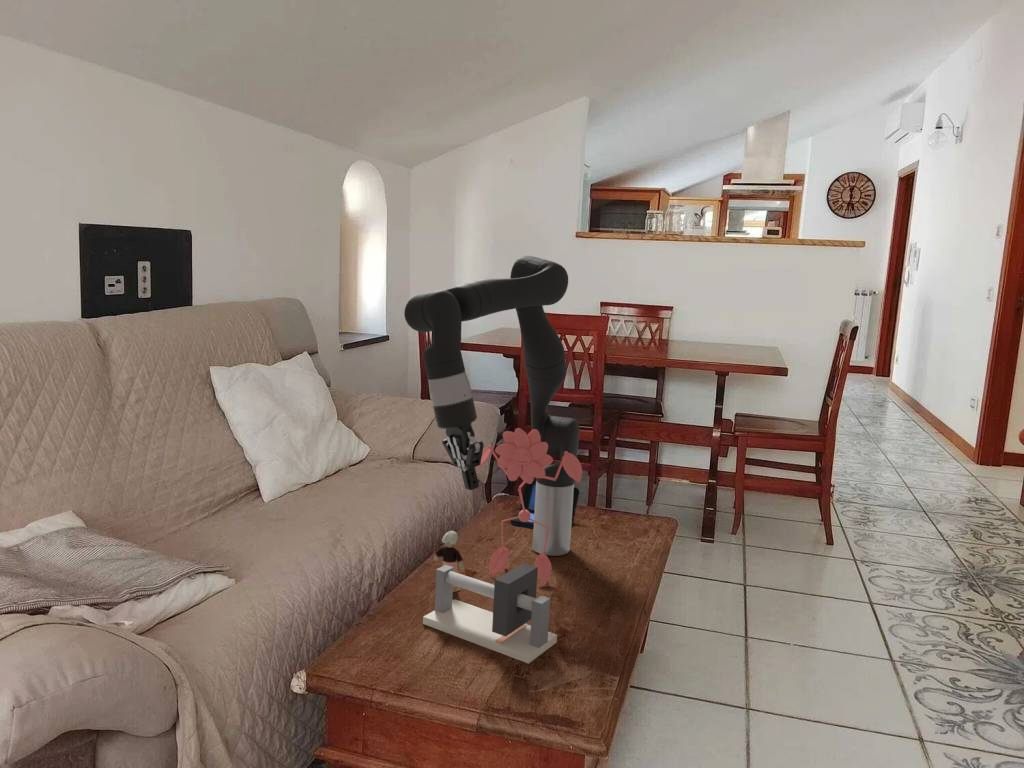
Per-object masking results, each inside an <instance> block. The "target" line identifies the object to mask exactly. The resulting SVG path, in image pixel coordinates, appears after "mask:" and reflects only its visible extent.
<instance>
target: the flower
mask: <svg viewBox="0 0 1024 768" xmlns="http://www.w3.org/2000/svg"><path fill="white" fill-rule="evenodd" d="M502 438H503V441H504V442H505V443H500V444H499V445H497V446H496V447H495V449H493V446H492V445H488V446H487V447H483V452H482V458H481V464H480V465H479V466H477V467H476V468H475V470H476V471H477V470H478V469H480V468H481V467H482V466H483V465H484V464H486V462H487V461H488V459H489V458H490V456H491V454H492V455H493V457H494V459H495V460H496V461H497V466H498V467H499V468H501V469H502V470H503V472H504V474H505V476H506V477H507V478H508V481H510V482H514V481H517V480H518V478H519V477H520V478H521V479H522V481H523V482H522V483H521V484H520V485H519V486H518V489H517V491H518V495H519V499H520V502H521V503H522V507H523V510H521V511H520V512H519V511H518V512H519V516H518V517H514V518H512V517H511V518H507V519H503V520H501V525H500V526H501V527H500V528H501V529H500V530H501V546H500V547H499V548H497V549H496V550H495V551H494V552H493V553H492V556H491V557H490V559H489V563H488V565H489V567H488V568H489V569H488V570H489V571H488V572H489V576H490V577H491V576H493V575H495V574H497V573H499V572H500V571H501V570H503V568H504V569H505V570H508V566H507V564H508V563H507V562H508V559H509V554H510V551H509V549H508V547H506V546H504V522H507V521H508V522H509V521H510V520H512V519H517V518H519V519H520V520H521V521H522V522H527V521H528V520H531V521H533V522H535V523H537V524H539V525H541V526H544V527H546V528H547V534H546V539H545V544H544V549H543V553H542V554H540V553H538V555H537V556H536V558H535V562H534V566H536V567H538V573H537V578H539V579H540V581H541V582H542V583H543V584H544V585H546V584H547V583H548V581H549V579H550V577H551V574H552V563H551V561H550V559H549V557H548V555H545V554H544V553H545V548H546V543H547V537H548V532H549V527H547V526H545V525H543V524H541V523H539V522H537V521H535V520H533V519H531V518H530V516H531V515H530V512H529V511H528V510H525V508H524V503H523V493H522V488H523V487H524V486H525V485H526V483H528V484H531V483H532V482H533V481H535V478H544V479H549V480H554V481H556V479H557V477H558V475H559V472H560V470H561V468H562V465H563V467H564V470H565V471H566V473H567V474H568V475H569V476H570V477H571V478H573V479H574V482H577V483H581V481H582V476H583V467H582V464H581V462H580V460H579V459H578V458H576V457H575V456H574V455H573V454H571V453H568V451H565V452H564V456H563V457H562V461H561V464H560V466H559V469H558V471H557V474H556V476H555V478H551V477H547V476H545V470H544V469H543V468H542V467H545V466H548V465H552V463H553V461H554V458H553V457H552V456H551V454H547V453H546V452H547V450H548V444H547V443H546V442H541V436H540V434H539V431H538V430H537V429H533V430H532V429H531V431H529V432H528V433H526V431H524V430H523V429H522V428H520V427H517V428H515V429H514V431H510V430H509V431H508V430H506V431H504V432H502ZM498 456H499V457H498ZM521 503H520V504H521ZM482 563H484V560H482V561H481V562H479V565H480V564H482ZM554 596H555V594H553V595H548V596H546V597H548V598H551V597H554Z"/></svg>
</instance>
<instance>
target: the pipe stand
mask: <svg viewBox="0 0 1024 768" xmlns="http://www.w3.org/2000/svg"><path fill="white" fill-rule="evenodd" d="M453 585H454V586H457V587H460V588H461V589H464V590H467V591H469V592H473V593H476V594H479V595H482V596H484V597H488V598H491V599H493V600H494V585H495V584H493V583H489V582H487V581H483V580H480V579H478V578H474V577H471V576H468V575H465V574H461V573H459V572H457V573H456V572H454V567H451V566H448V565H444V566H442V565H441V566H440V567H439V568H436V571H435V590H434V610H432V611H431V612H429V613H427V614H425V615H424V616H423V617H422V624H423V625H425V626H427V627H431V628H432V629H435V630H438V631H441V632H443V633H446V634H449V635H452V636H454V637H456V638H460V639H462V640H465V641H468V642H469V643H473V644H476V645H478V646H480V647H483V648H485V649H488V650H491V651H494V652H497V653H499V654H502V655H504V656H507V657H510V658H513V659H515V660H517V661H521V662H523V663H526V664H528V665H529V664H530V663H532V662H533V661H535V659H537V657H539V656H541V655H542V654H543V653H544V652H546V651H547V650H548V649H550V648H551V647H552V646H554V645H555V644H556V643H557V642H558V639H557V638H558V634H556V633H553V632H550V631H549V625H550V610H551V597H547V596H546V595H542V594H541V595H539V596H538V597H536V598H533V597H530V596H527V595H524V594H521V593H520V594H518V595H517V607H520V608H523V609H526V610H529V611H532V617H531V620H530V622H531V623H530V624H528V623H525V624H524V625H522V626H521V627H519V628H518V629H516V630H515V631H513V632H512V633H510V634H509V635H508V636H503V635H500V634H497V633H494V632H492V624H493V611H490V610H487V609H483V608H481V607H479V606H475V605H472V604H470V603H466V602H464V601H462V600H458V599H453V598H454V597H453V594H454V592H453Z"/></svg>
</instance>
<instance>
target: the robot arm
mask: <svg viewBox="0 0 1024 768" xmlns="http://www.w3.org/2000/svg"><path fill="white" fill-rule="evenodd" d="M568 286H569V275H568V272H567V270H566V268H565V267H564V266H563V265H562V264H560V263H557V262H555V261H553V260H548V259H544V258H541V257H536V256H533V255H522V256H520V257H518V258H517V259H516V260H515V262H514V263H513V265H512V267H511V271H510V277H509V278H483V279H482V278H481V279H477V280H473V281H469V282H465V283H461V284H458V285H455V286H453V287H449V288H446V289H439V290H433V291H430V292H425V293H419V294H417V295H415V296H413V297H411V298H410V299H409V300H408V302H407V303H406V304H405V307H404V312H403V313H404V319H405V322H406V324H407V325H408V326H409V327H410V329H412V330H414V331H417V332H419V333H428V332H432V333H433V335H432V344H431V345H429V346H427V347H426V348H425V349H424V350H423V352H422V358H423V364H424V369H425V371H426V377H427V381H428V391H429V396H430V399H431V404H432V408H433V412H434V417H435V423H436V425H437V427H438V428H439V429H443V430H444V429H445V435H446V438H445V439H443V440H442V441H441V442H442V445H443V447H444V450H445V451H446V452H447V454H448V456H449V459H450V460H451V462H452V464H453V465H454V467H458V470H459V471H461V475H462V479H463V483H464V488H465V489H466V490H468V491H473V490H475V489H478V488H479V486H480V485H479V479H478V475H477V470H475V468H476V467H477V466H479V465H480V464H481V458H482V452H483V449H484V448H485V447H484V446H485V445H484V442H483V441H482V440H479V441H478V440H477V439H476V436H475V433H476V432H475V431H474V429H473V426H472V424H473V422H475V421H477V418H478V415H477V410H476V405H475V402H474V398H473V392H472V388H471V385H470V381H469V378H468V375H467V372H466V369H465V368H466V367H465V363H464V359H463V354H462V351H461V350H462V349H461V346H462V345H461V344H462V322H468V321H472V320H476V319H478V318H481V317H482V318H483V317H486V316H489V315H492V314H496V313H499V312H505V311H510V310H514V309H515V312H516V315H517V318H518V319H517V320H518V324H519V330H520V335H521V341H522V342H521V343H522V349H523V359H524V368H525V374H526V379H527V385H528V394H529V401H530V402H529V403H530V422H531V425H530V426H531V431H532V430H533V429H537V430H538V431H539V434H540V436H541V442H546V443H547V444H548V450H547V452H546V454H548V455H552V456H553V455H555V456H560V460H559V461H558V462H555V463H554V464H552V463H551V464H550V465H548V466H545V467H542V468H543V469H544V470H545V476H547V477H551V478H555V476H556V474H557V471H558V469H559V466H560V464H561V461H562V457H563V456H564V452H565V451H568V453H571V454H573V455H574V456H575V457H576V458H577V457H578V450H579V443H580V430H581V429H580V424H579V422H578V420H577V419H576V418H572V417H564V416H556V415H550V414H549V410H548V408H549V405H550V403H551V401H552V399H553V398H554V396H555V395H556V394H557V392H558V391H559V390H560V388H561V387H562V385H563V383H564V382H565V379H566V377H567V362H566V361H567V360H566V351H565V348H564V344H563V342H562V340H561V338H560V337H559V335H558V333H557V331H556V330H555V329H554V327H553V324H551V322H550V320H549V319H548V317H547V315H546V313H545V312H546V311H545V310H544V306H551V305H555V304H557V303H558V302H559V301H560V300H561V299H563V297H564V296H565V295H566V293H567V290H568ZM577 459H578V458H577ZM535 481H536V495H535V512H534V520H535V521H537V522H539V523H541V524H543V525H545V526H547V527H549V532H548V537H547V543H546V548H545V553H544V554H545V555H546V556H553V557H554V556H555V557H556V556H563V555H567V554H569V552H570V550H571V538H572V537H571V536H572V535H571V533H572V525H571V523H572V508H573V492H574V487H575V480H574V479H573V478H571V477H570V476H569V475H568V474H567V473H566V471H565V470H564V467H563V465H562V468H561V470H560V472H559V475H558V477H557V479H556V481H554V480H549V479H544V478H536V479H535ZM532 529H533V530H532V544H531V545H532V546H531V547H532V550H533V551H534V552H535V553H537V554H541V555H542V553H543V549H544V544H545V539H546V534H547V528H546V527H544V526H541V525H539V524H537V523H535V522H534V528H532Z"/></svg>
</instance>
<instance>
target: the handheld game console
mask: <svg viewBox="0 0 1024 768" xmlns="http://www.w3.org/2000/svg"><path fill="white" fill-rule="evenodd" d="M535 495H536V480H533V482H532V483H531V484H528V483H525V484H524V490H523V493H522V498H523V503H524V508H525V510H528V511H529V512H530V515H531V516H530V518H531V519H533V520H534V512H535ZM579 497H580V490H579V488H577V487H575V486H574V492H573V508H572V523H571V526H573V525H574V521H575V516H576V510H577V506H578V501H579ZM521 510H523V507H522V503H520V507H519V509H518V512H516V513H515V514H514V515H513V516H512V517H511V518H514V517H518V516H519V512H520V511H521ZM509 521H510V523H511V524H512V525H515V526H520V527H525V528H532V529H533V528H534V522H533V521H531V520H528V521H527V522H522V521H521V520H520V519H519V518H517V519H512V520H509Z"/></svg>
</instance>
